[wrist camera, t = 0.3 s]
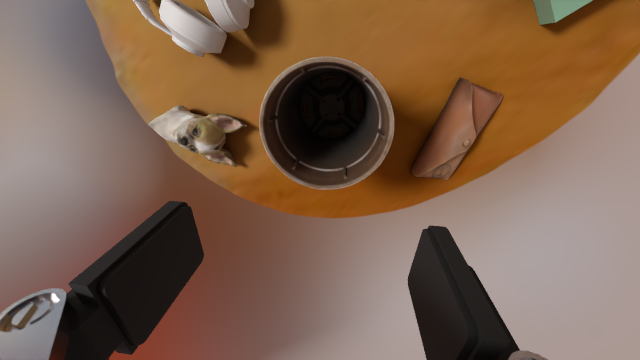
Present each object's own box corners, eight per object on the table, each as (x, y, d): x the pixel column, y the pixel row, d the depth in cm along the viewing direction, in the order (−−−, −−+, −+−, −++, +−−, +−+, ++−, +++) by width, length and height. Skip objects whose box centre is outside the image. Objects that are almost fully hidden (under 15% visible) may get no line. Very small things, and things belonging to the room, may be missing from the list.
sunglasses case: (449, 183, 47) (443, 193, 42) (415, 167, 50) (406, 174, 45) (507, 91, 38) (508, 90, 33) (462, 78, 41) (457, 75, 36)
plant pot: (367, 40, 37) (378, 32, 23) (387, 135, 44) (405, 174, 30) (275, 74, 41) (236, 85, 27) (306, 157, 48) (288, 200, 34)
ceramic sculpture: (141, 96, 37) (235, 132, 39) (174, 87, 44) (252, 118, 46) (141, 154, 42) (224, 183, 44) (170, 137, 49) (240, 163, 51)
